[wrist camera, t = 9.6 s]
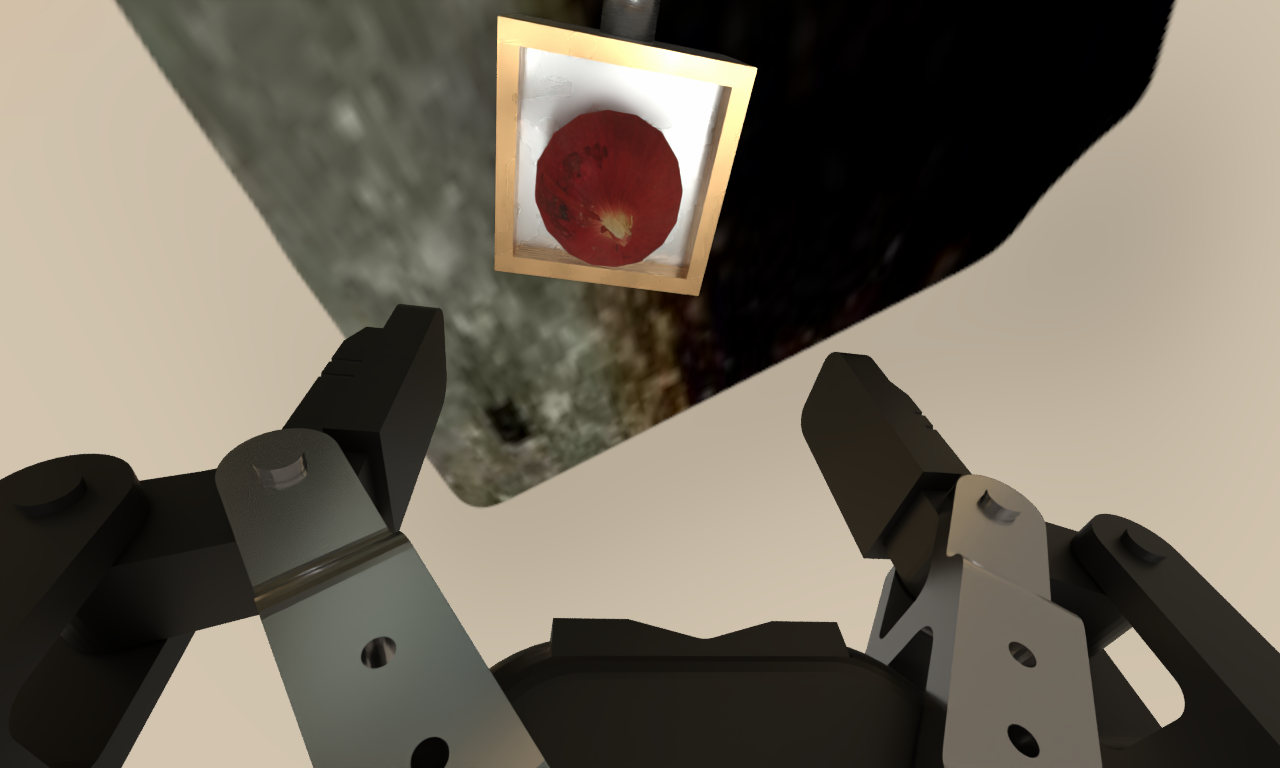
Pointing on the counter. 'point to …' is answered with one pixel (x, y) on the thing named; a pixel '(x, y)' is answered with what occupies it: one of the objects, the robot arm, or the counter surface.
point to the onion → (608, 188)
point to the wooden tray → (624, 82)
